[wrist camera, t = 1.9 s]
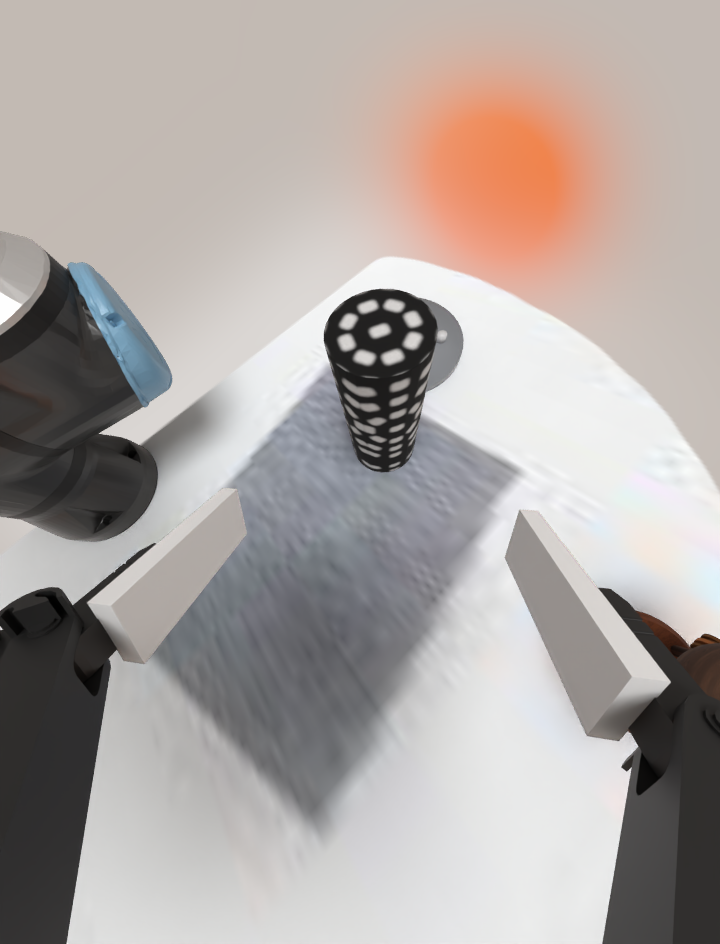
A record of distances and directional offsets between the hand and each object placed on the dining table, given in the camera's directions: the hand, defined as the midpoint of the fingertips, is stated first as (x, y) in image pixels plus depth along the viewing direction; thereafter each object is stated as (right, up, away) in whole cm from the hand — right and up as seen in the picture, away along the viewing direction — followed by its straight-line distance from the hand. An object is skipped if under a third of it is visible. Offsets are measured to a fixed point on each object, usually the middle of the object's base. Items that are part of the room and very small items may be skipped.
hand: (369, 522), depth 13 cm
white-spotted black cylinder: (+3, +6, +26) cm, 27 cm away
